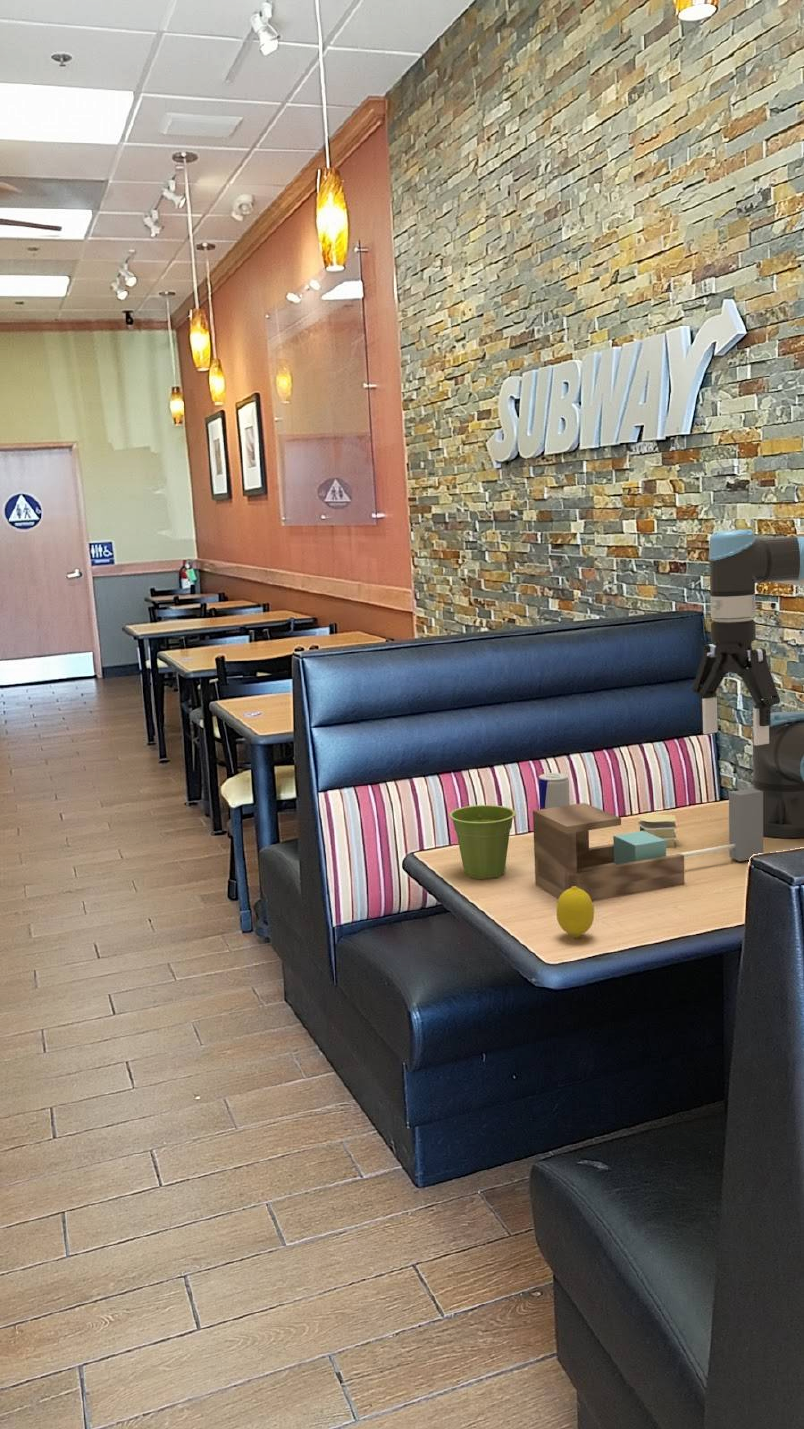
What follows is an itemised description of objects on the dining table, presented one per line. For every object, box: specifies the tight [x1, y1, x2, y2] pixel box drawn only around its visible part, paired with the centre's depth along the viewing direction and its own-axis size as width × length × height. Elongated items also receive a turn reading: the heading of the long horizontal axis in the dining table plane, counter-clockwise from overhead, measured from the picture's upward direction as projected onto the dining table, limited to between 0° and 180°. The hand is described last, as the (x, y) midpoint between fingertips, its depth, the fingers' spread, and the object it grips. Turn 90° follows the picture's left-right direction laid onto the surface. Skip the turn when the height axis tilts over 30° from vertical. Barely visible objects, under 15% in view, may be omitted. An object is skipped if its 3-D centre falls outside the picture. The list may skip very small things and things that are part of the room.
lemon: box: [555, 886, 595, 939], centre depth 164 cm, size 6×6×8 cm
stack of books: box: [637, 813, 677, 848], centre depth 210 cm, size 10×9×6 cm
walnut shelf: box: [532, 802, 685, 902], centre depth 187 cm, size 22×12×13 cm, turn 110°
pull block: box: [612, 787, 764, 865], centre depth 193 cm, size 28×7×12 cm, turn 110°
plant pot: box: [448, 804, 517, 880], centre depth 197 cm, size 12×12×11 cm
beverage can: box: [538, 772, 571, 810], centre depth 207 cm, size 6×6×15 cm
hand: (735, 738), depth 196 cm, fingers open, 13 cm apart
